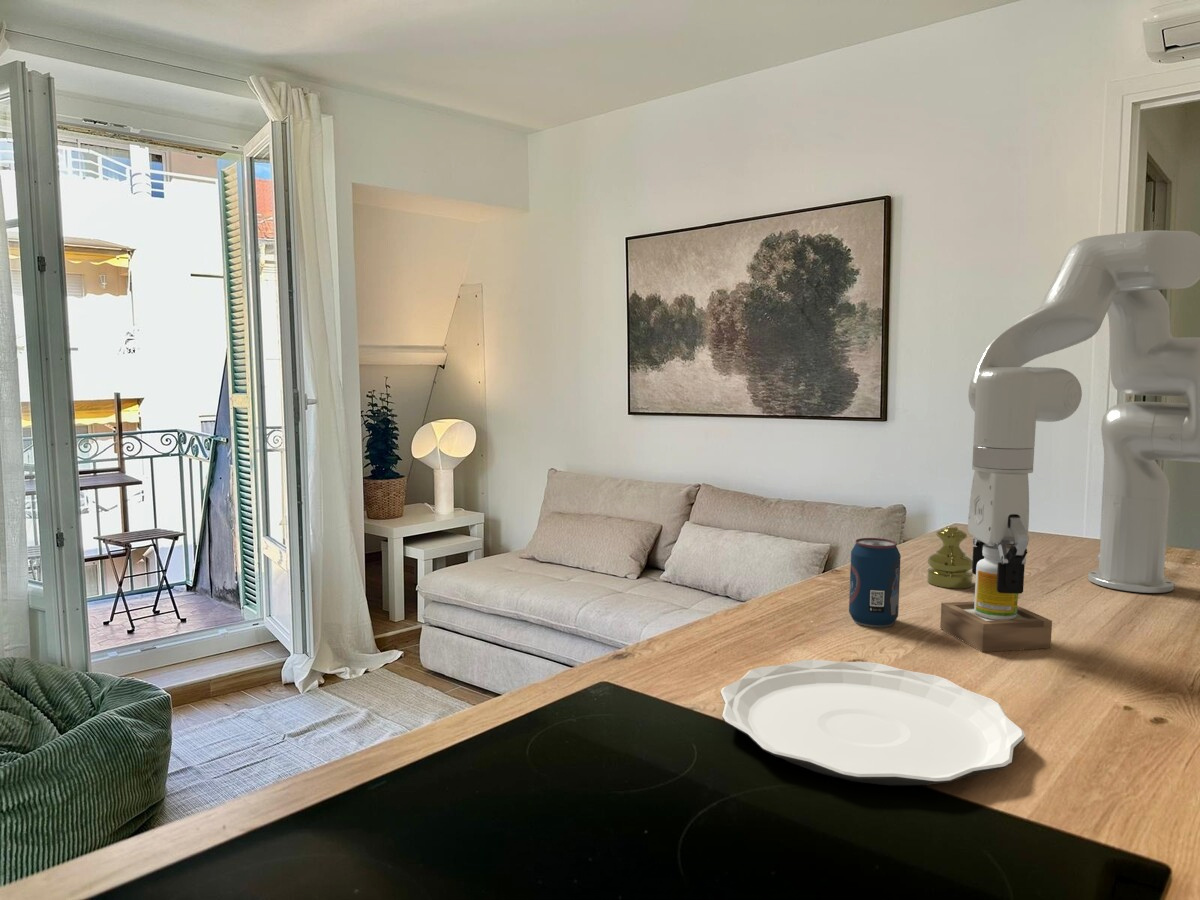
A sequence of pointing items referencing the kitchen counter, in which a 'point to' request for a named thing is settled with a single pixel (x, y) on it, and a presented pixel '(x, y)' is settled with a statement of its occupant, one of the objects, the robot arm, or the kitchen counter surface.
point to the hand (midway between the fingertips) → (996, 583)
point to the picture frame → (996, 628)
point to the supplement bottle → (992, 589)
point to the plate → (871, 722)
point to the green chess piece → (950, 561)
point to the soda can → (874, 582)
